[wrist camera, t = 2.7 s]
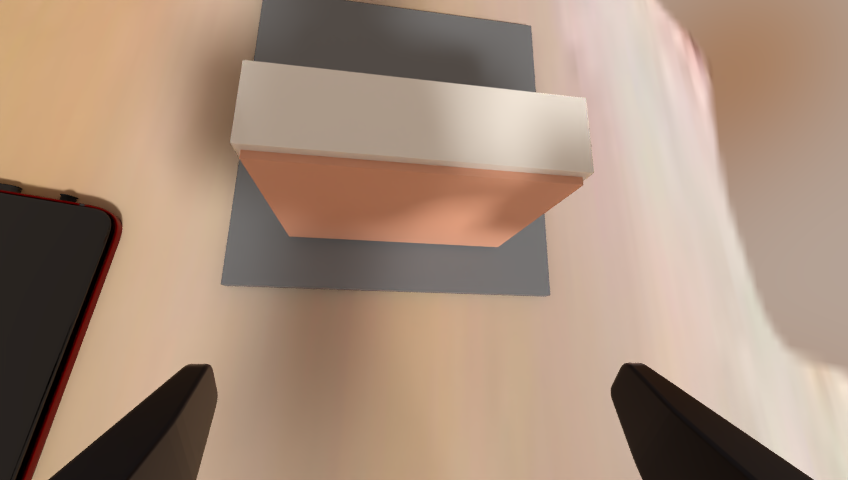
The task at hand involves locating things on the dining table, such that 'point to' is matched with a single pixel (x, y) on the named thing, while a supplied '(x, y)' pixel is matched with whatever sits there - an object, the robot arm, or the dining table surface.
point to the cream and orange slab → (405, 154)
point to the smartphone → (44, 311)
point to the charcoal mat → (399, 57)
